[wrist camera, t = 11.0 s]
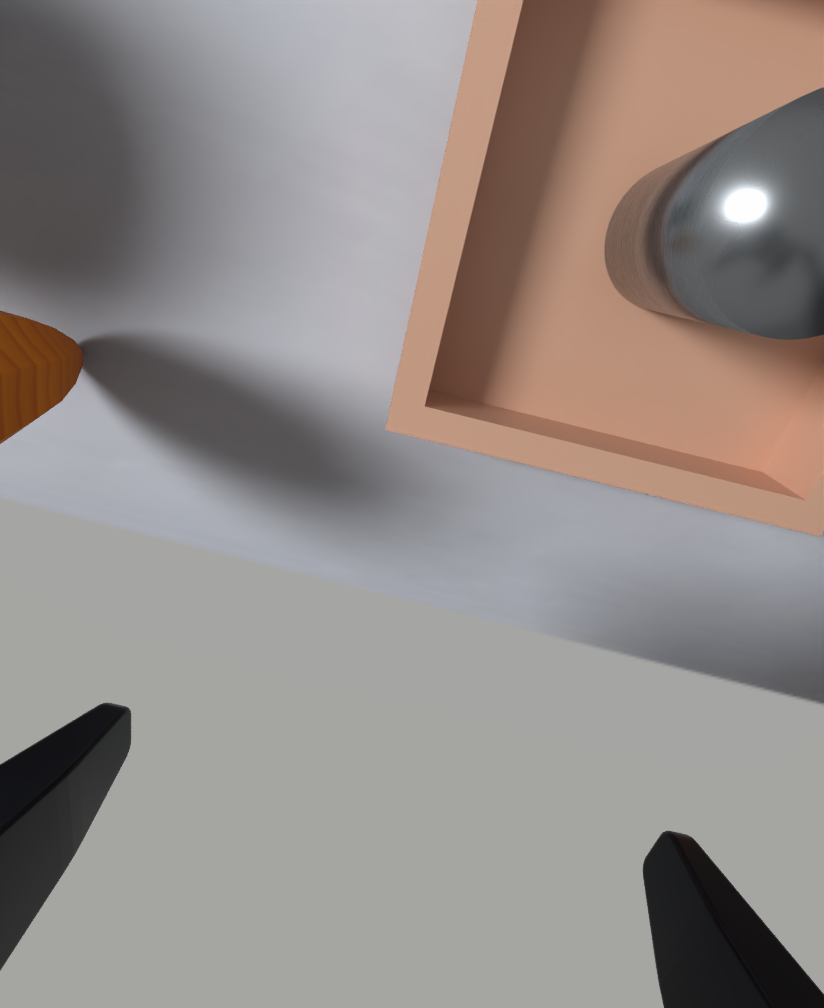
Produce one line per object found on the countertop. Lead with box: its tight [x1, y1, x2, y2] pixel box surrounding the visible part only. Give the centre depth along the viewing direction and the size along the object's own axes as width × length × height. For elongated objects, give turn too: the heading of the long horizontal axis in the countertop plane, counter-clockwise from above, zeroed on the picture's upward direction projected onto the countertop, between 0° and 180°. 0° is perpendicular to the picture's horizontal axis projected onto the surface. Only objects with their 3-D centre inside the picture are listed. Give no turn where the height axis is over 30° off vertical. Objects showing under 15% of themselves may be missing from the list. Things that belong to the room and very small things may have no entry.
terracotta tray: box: [385, 0, 824, 536], centre depth 15 cm, size 14×14×4 cm
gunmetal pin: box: [604, 87, 824, 340], centre depth 12 cm, size 4×4×7 cm
